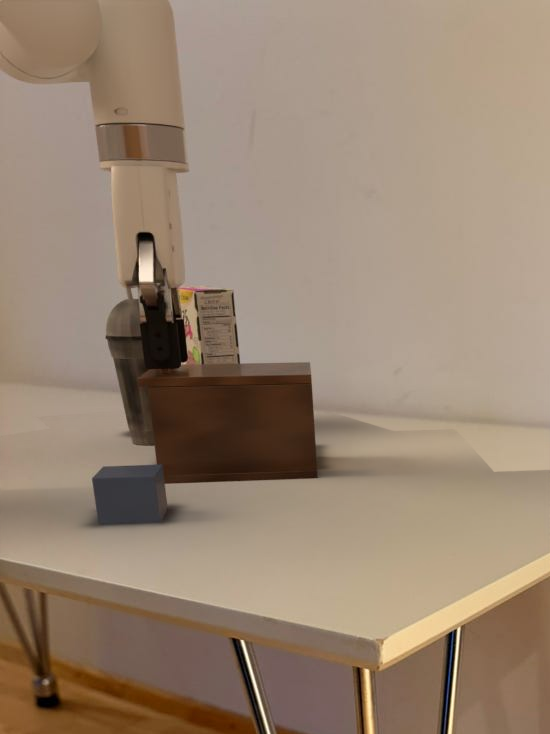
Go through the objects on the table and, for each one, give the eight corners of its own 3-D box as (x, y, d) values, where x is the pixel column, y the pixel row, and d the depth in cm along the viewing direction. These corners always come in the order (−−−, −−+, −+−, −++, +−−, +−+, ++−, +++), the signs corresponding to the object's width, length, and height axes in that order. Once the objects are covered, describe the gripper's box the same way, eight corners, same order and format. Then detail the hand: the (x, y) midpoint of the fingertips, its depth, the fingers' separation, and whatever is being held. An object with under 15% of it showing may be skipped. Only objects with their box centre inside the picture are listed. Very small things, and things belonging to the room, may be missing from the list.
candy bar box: (181, 422, 126) (165, 286, 120) (219, 418, 128) (206, 285, 123) (208, 434, 117) (192, 288, 111) (248, 430, 120) (235, 287, 114)
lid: (138, 387, 88) (130, 328, 86) (155, 373, 99) (149, 321, 97) (311, 383, 90) (308, 326, 89) (310, 370, 101) (307, 319, 99)
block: (100, 537, 74) (91, 478, 73) (110, 522, 78) (102, 466, 77) (162, 534, 75) (154, 475, 73) (169, 520, 79) (162, 464, 77)
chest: (159, 484, 91) (147, 387, 88) (173, 460, 102) (163, 373, 99) (317, 478, 94) (311, 383, 90) (315, 456, 104) (310, 370, 101)
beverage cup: (199, 439, 114) (179, 254, 106) (148, 449, 108) (123, 254, 101) (157, 434, 117) (135, 254, 110) (105, 443, 112) (79, 254, 104)
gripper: (115, 160, 94) (139, 357, 101) (78, 141, 78) (110, 376, 85) (196, 161, 95) (215, 356, 102) (176, 143, 79) (199, 374, 86)
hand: (167, 363), depth 93 cm, fingers open, 5 cm apart
